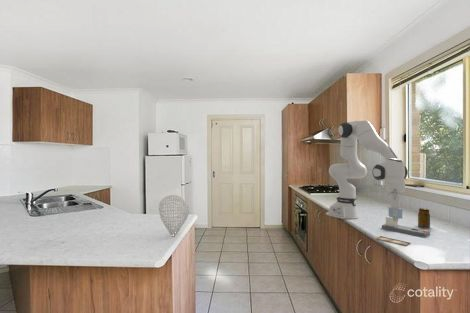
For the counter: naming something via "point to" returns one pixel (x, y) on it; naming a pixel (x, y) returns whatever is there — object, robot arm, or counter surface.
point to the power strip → (407, 230)
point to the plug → (391, 222)
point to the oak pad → (393, 241)
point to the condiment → (424, 218)
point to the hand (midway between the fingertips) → (395, 214)
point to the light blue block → (399, 214)
